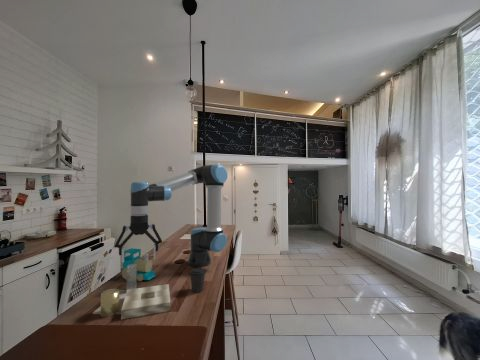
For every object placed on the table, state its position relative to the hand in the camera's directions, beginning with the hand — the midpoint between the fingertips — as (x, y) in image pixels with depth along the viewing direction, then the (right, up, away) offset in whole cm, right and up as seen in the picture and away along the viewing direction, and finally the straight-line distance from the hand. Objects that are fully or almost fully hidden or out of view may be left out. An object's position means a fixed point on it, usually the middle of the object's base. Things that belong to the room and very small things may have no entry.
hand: (139, 260), depth 104 cm
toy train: (-9, -17, +20) cm, 27 cm away
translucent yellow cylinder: (-5, -16, -15) cm, 22 cm away
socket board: (+7, -16, -8) cm, 19 cm away
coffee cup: (+26, -17, +5) cm, 32 cm away
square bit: (-6, -16, +4) cm, 18 cm away
